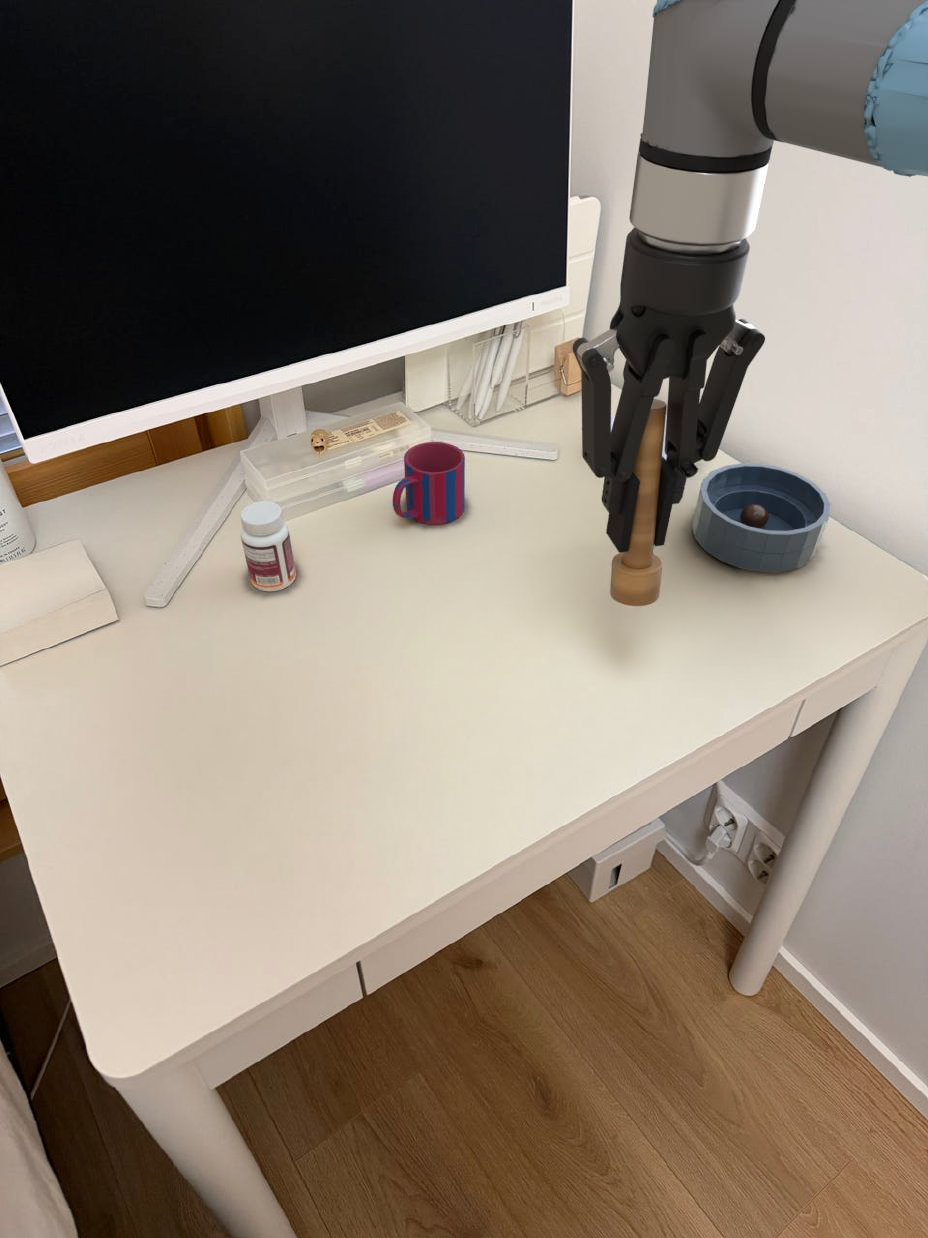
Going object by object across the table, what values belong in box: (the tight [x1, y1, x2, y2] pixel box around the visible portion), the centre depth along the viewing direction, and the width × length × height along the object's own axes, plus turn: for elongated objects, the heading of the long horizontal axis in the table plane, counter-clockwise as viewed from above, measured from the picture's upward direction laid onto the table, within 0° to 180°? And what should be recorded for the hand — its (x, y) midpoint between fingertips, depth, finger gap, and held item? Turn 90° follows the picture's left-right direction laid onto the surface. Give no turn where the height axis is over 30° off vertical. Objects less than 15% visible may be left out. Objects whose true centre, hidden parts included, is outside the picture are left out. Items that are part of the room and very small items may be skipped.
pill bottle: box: [239, 500, 297, 592], centre depth 87 cm, size 5×5×8 cm
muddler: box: [609, 398, 668, 607], centre depth 66 cm, size 4×4×16 cm
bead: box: [740, 504, 769, 529], centre depth 94 cm, size 3×3×3 cm
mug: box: [392, 441, 466, 526], centre depth 96 cm, size 7×10×7 cm
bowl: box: [691, 462, 832, 573], centre depth 93 cm, size 13×13×6 cm
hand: (634, 538), depth 68 cm, fingers closed on muddler, 2 cm apart
